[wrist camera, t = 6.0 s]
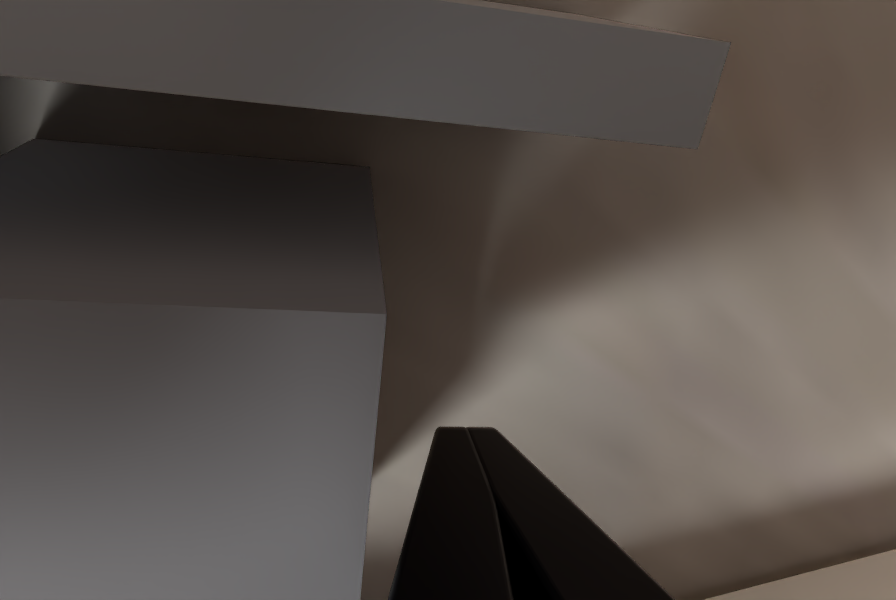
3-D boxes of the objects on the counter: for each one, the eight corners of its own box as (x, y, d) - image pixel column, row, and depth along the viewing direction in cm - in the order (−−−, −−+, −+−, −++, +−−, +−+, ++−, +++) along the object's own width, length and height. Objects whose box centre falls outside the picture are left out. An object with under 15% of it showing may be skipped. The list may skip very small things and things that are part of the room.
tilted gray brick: (345, 503, 11) (346, 756, 7) (97, 506, 10) (-34, 790, 7) (369, 167, 8) (386, 314, 5) (33, 138, 7) (-247, 287, 4)
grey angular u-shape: (443, 653, 13) (474, 856, 10) (-23, 683, 12) (-153, 939, 9) (576, 14, 8) (731, 43, 5) (-297, -115, 6) (-977, -207, 3)
